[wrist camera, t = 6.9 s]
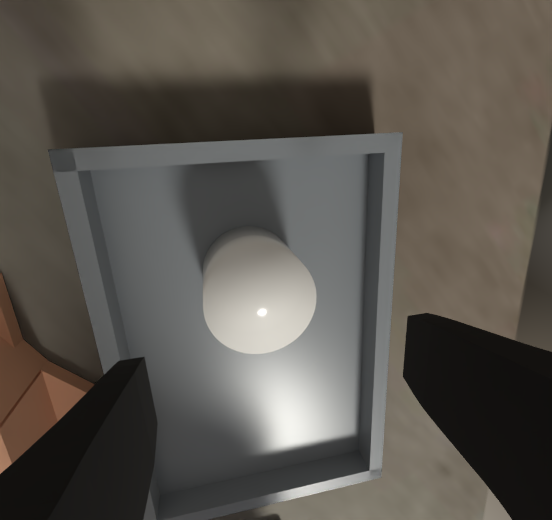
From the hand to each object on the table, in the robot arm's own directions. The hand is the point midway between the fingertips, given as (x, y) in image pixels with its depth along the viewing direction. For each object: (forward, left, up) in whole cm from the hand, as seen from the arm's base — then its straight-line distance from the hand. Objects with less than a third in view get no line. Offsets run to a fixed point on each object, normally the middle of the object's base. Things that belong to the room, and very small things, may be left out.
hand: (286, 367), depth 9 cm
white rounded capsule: (0, 0, -8) cm, 8 cm away
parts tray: (-4, 0, -9) cm, 10 cm away
